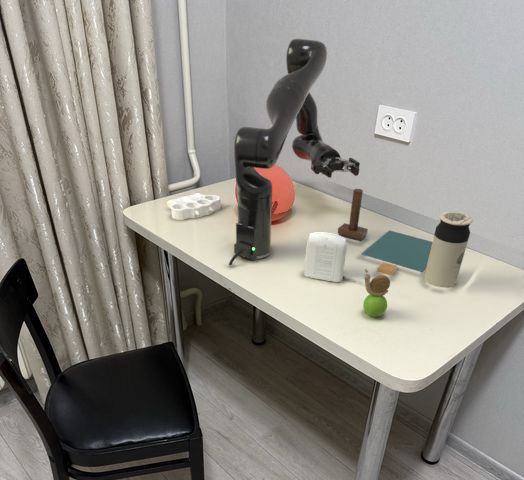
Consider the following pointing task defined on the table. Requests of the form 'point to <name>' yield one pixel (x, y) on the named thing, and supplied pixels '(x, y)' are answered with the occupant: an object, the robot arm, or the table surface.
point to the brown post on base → (354, 219)
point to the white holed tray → (193, 206)
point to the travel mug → (448, 249)
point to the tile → (401, 250)
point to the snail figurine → (376, 294)
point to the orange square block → (387, 268)
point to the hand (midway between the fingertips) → (344, 173)
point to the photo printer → (325, 256)
